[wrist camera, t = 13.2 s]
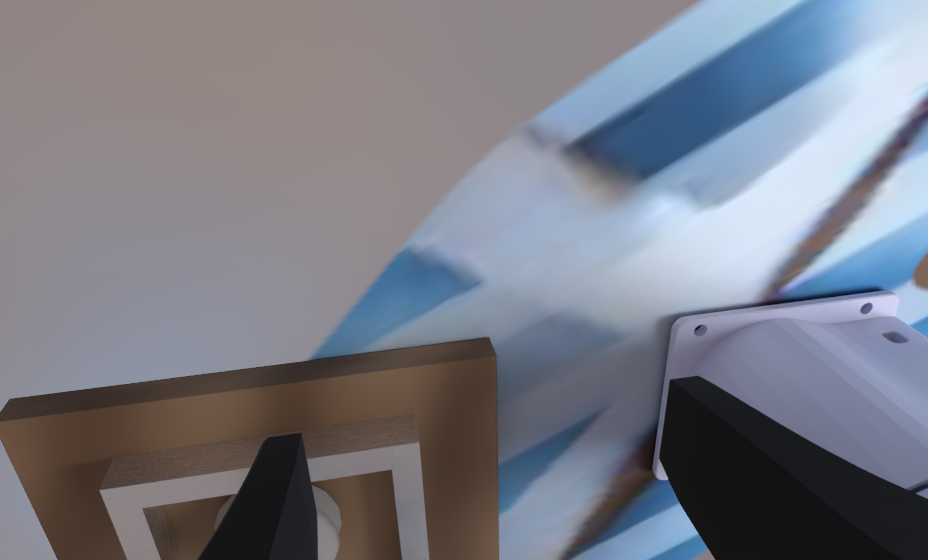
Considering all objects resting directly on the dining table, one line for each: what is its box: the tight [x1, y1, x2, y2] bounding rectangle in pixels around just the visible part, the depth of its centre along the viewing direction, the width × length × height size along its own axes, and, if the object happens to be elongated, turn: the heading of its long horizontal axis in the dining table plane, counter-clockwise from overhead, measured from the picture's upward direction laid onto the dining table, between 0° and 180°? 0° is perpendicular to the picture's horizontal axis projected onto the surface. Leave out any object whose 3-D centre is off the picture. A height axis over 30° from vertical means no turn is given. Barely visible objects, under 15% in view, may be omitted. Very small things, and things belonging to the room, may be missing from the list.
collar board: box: [0, 338, 499, 560], centre depth 24 cm, size 16×14×3 cm
